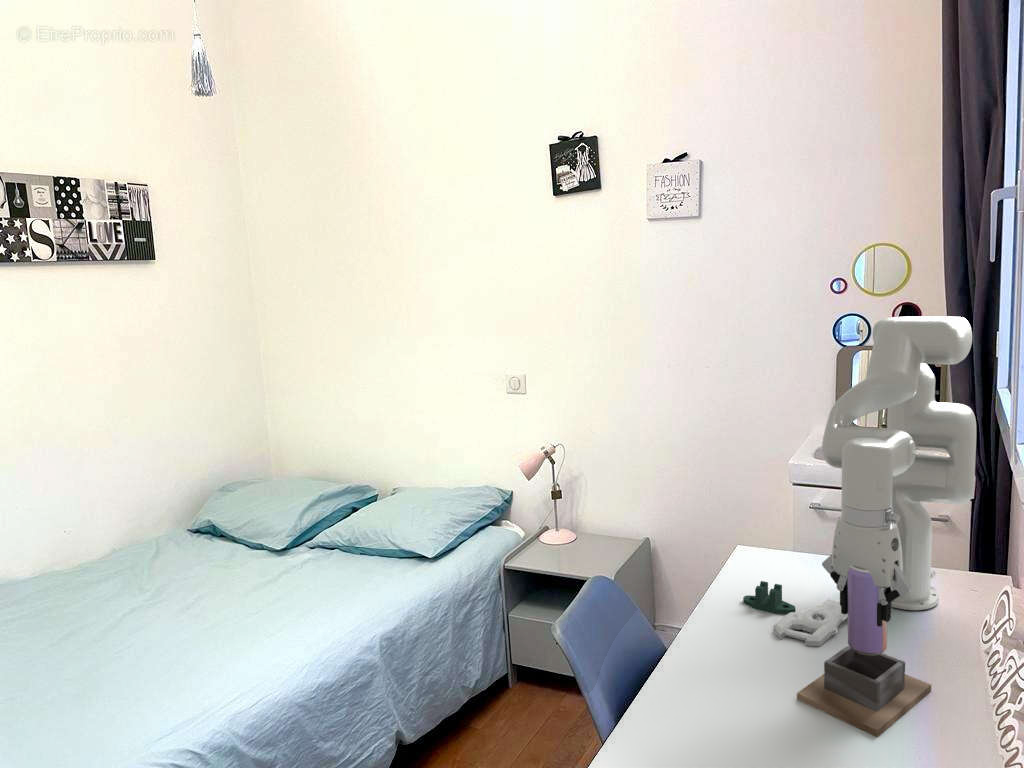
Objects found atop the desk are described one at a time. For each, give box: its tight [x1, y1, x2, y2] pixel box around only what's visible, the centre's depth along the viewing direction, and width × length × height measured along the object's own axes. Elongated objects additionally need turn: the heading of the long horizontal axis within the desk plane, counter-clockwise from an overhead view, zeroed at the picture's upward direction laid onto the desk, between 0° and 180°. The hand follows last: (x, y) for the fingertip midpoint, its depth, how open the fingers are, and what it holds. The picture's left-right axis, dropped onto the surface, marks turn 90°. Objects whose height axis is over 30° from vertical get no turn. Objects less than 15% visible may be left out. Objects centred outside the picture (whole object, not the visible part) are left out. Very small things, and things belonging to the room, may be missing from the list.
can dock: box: [796, 644, 932, 738], centre depth 131 cm, size 18×14×6 cm
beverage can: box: [847, 565, 888, 656], centre depth 128 cm, size 6×6×15 cm
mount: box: [742, 580, 796, 616], centre depth 163 cm, size 11×4×5 cm, turn 53°
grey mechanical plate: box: [772, 598, 848, 647], centre depth 155 cm, size 18×4×10 cm
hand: (864, 616), depth 129 cm, fingers closed on beverage can, 5 cm apart
